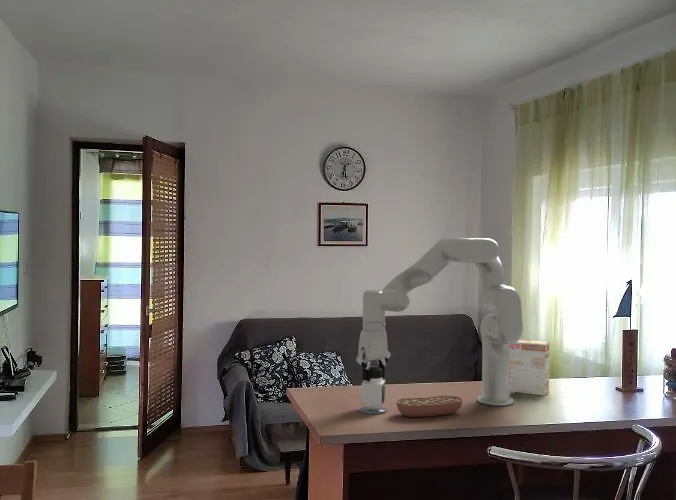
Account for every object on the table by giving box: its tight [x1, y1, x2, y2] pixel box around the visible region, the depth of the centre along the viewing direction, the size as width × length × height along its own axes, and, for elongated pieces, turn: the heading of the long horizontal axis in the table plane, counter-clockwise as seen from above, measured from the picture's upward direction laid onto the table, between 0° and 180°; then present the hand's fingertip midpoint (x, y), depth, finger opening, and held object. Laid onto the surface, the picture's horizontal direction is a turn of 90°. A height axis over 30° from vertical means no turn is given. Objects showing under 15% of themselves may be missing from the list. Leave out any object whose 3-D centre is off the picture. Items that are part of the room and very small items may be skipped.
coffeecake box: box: [508, 339, 550, 397], centre depth 250 cm, size 15×7×20 cm, turn 58°
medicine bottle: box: [360, 365, 386, 406], centre depth 222 cm, size 7×7×12 cm
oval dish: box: [396, 395, 463, 418], centre depth 217 cm, size 23×10×5 cm, turn 106°
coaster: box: [359, 405, 387, 415], centre depth 222 cm, size 9×9×1 cm
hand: (373, 378), depth 222 cm, fingers closed on medicine bottle, 6 cm apart
